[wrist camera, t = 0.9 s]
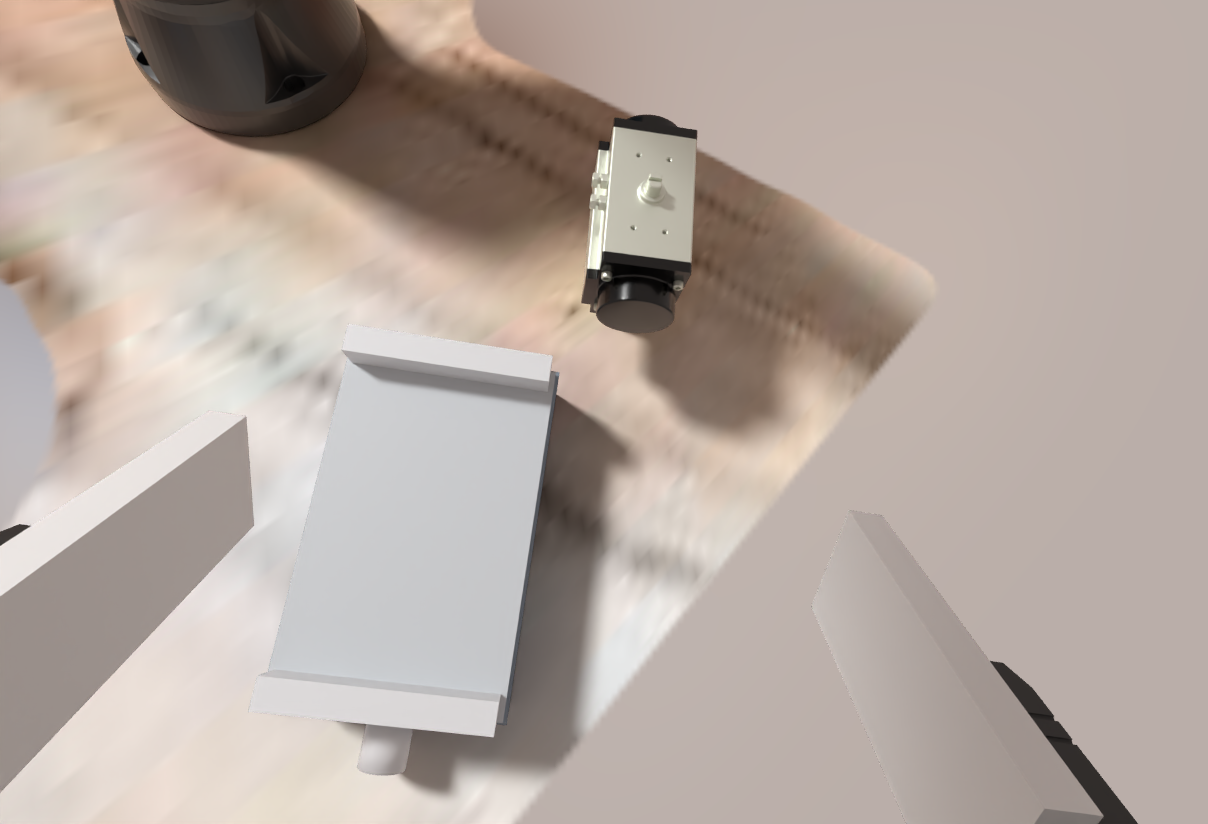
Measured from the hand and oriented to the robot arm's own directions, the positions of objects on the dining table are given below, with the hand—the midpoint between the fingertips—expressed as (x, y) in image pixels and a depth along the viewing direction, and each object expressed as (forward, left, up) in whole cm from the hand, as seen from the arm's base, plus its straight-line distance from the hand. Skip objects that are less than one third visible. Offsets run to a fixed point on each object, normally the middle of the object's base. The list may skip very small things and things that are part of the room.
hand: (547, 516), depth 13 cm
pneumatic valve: (-19, +3, -25) cm, 31 cm away
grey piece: (+1, -6, -25) cm, 26 cm away
